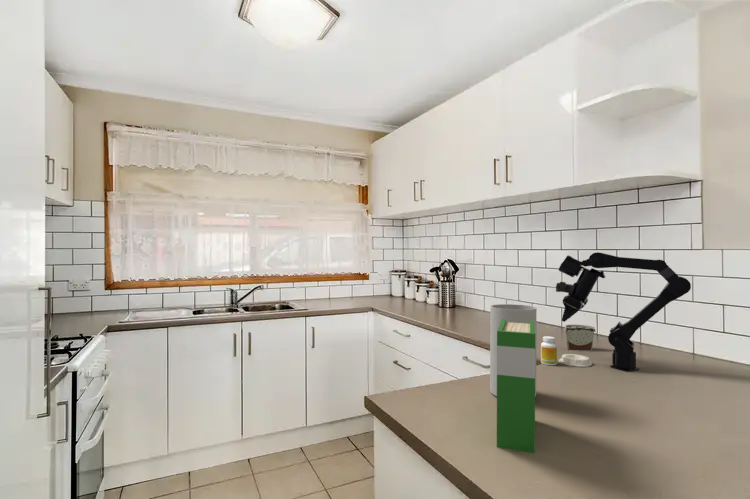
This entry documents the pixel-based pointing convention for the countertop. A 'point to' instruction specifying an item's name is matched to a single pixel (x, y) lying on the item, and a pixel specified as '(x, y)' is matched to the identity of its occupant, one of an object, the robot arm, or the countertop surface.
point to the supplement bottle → (548, 351)
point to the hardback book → (516, 386)
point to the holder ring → (575, 360)
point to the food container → (579, 337)
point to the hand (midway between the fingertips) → (565, 319)
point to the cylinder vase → (496, 315)
